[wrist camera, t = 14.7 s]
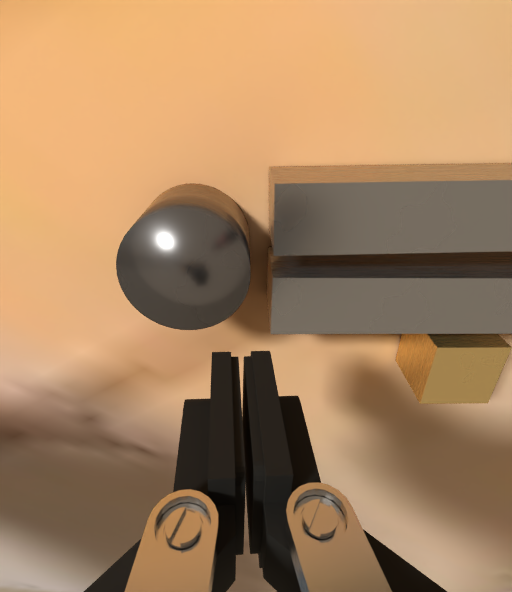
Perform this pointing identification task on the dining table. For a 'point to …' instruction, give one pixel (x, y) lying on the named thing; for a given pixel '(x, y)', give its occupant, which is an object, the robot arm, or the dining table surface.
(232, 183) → the dining table surface
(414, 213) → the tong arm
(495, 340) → the tab
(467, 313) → the tong fixed
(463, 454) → the dining table surface
